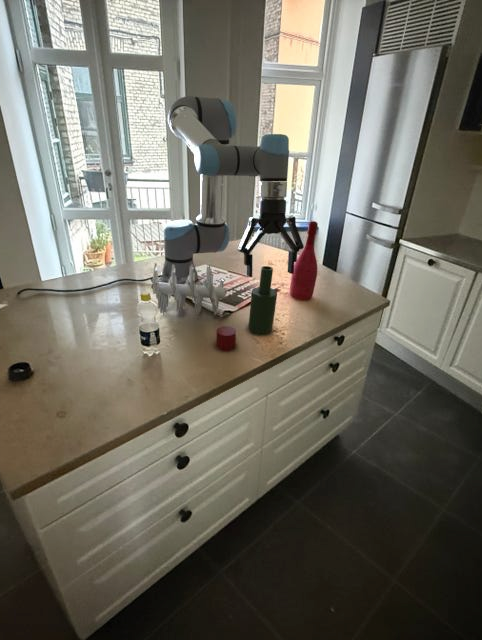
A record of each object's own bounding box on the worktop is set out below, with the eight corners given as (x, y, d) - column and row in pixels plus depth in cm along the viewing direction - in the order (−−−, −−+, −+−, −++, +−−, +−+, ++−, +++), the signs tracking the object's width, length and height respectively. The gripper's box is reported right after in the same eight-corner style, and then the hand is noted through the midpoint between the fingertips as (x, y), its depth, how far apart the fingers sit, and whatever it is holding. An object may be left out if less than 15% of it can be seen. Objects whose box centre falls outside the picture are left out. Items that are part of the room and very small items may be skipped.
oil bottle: (249, 335, 124) (255, 272, 111) (247, 323, 131) (253, 262, 118) (273, 336, 124) (281, 273, 112) (270, 324, 131) (278, 264, 119)
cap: (215, 350, 115) (216, 335, 111) (216, 340, 119) (216, 325, 116) (235, 351, 115) (236, 336, 112) (234, 341, 120) (235, 326, 117)
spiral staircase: (222, 328, 134) (152, 324, 131) (222, 291, 143) (156, 286, 140) (228, 296, 119) (148, 290, 115) (227, 256, 127) (153, 249, 124)
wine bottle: (311, 293, 156) (325, 219, 139) (313, 302, 148) (328, 226, 131) (288, 290, 157) (299, 217, 140) (288, 300, 149) (300, 223, 132)
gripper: (234, 199, 97) (235, 280, 106) (318, 198, 104) (312, 274, 113) (226, 198, 103) (227, 274, 112) (306, 197, 110) (301, 269, 120)
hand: (270, 274), depth 113 cm, fingers open, 13 cm apart
